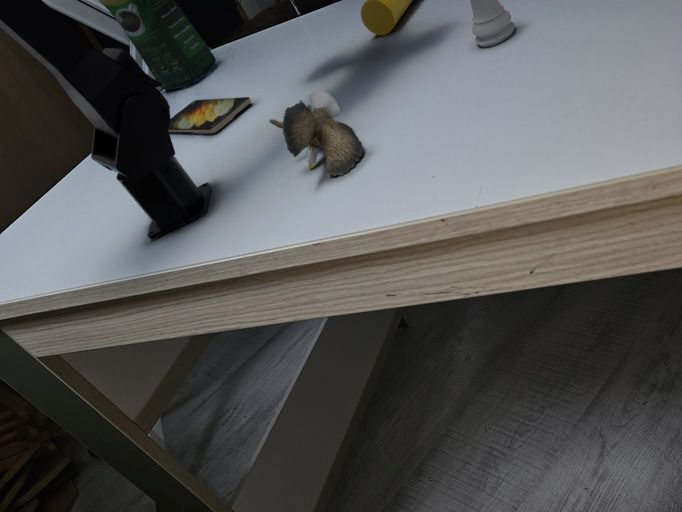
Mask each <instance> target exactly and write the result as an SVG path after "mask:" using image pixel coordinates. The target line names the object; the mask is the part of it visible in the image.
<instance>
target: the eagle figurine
mask: <svg viewBox="0 0 682 512" xmlns="http://www.w3.org/2000/svg"><path fill="white" fill-rule="evenodd" d="M309 100H310V103H311V104H307V105H306V104H305V103H304V101H302V100H301V99H300V100H299V102H298V103H295V104H294V105H291V106H289V107H286V109H284V113H283V120H282V121H278V120H276V119H269V120H268V122H269V123H270V124H271V125H273V126H275V127H277V128H279V129H282V134H283V137H284V141H285V142H284V143H286V149H287V151H289V153H290V154H291V155H292V156H293V157H294V158H296V157H297V156H299V154H301V152H302V151H304V150H305V149H306V161H307V163H308V169H309V170H312V169H313V166H314V164H316V163H317V158H318V153H319V150H320V148H321V147H322V150H323V152H324V156H325V166H326V168H325V169H326V175H327V176H333V177H337V176H344V175H345V174H348V173H349V172H350V171H351V169H352V168H354V167H355V165H356V162H359V161H360V157H362V155H363V146H362V141H360V139H359V136H357V135H356V133H355V131H354V130H353V127H351V126H350V125H348V124H346V123H344V122H340V121H338V120H335V119H333V118H335V117H337V116H339V115H340V114H341V109H340V106H339V104H338V103H337V100H336V99H335V97H334V96H332V95H331V93H330V92H326V91H323V90H322V91H321V90H320V91H314V92H311V93H310V94H309ZM312 109H313V110H312Z"/></svg>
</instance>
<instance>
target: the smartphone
mask: <svg viewBox="0 0 682 512" xmlns="http://www.w3.org/2000/svg"><path fill="white" fill-rule="evenodd" d="M251 103H252V100H251V98H250V97H249V96H243V97H226V98H209V99H207V98H205V99H195V100H193V101H191V102H190V103H189V104H187V105H186V106H185V107H184V108H182V109H181V110H180V111H178V112H177V113H176V114H174V115H173V116H172V117H170V119H171V120H170V124H169V129H168V131H169V133H193V134H214V133H216V132H218V131H219V130H221V129H222V128H223V127H224V126H226V125H227V124H228V123H229V122H231V121H232V120H233V119H234V118H235V116H237V114H239V113H240V112H242V111H243V109H245V108H246V107H248V105H249V104H251Z"/></svg>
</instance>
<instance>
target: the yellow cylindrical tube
mask: <svg viewBox="0 0 682 512" xmlns="http://www.w3.org/2000/svg"><path fill="white" fill-rule="evenodd" d="M413 2H415V0H365V1H364V2H363V4H362V6H361V8H360V18H361V21H362V24H363V25H364V26H365V28H366V29H367V30H368V31H369V32H370V33H372V34H374V35H377V36H386V35H389V34H390V33H391V32H392V31H393V29H394V28H395V26H396V25H397V24H398V22H399V21H400V19H401V18H402V16H403V15H404V14H405V12H406V11H407V9H408V8H409V6H410V5H411V3H413Z"/></svg>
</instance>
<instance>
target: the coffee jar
mask: <svg viewBox="0 0 682 512" xmlns="http://www.w3.org/2000/svg"><path fill="white" fill-rule="evenodd" d="M98 1H99V2H100V3H101V5H103V7H104V8H106V10H107V11H108V12H110V14H111V15H112V17H114V19H115V20H116V22H117V23H118V24H119V26H120V27H121V29H122V30H123V32H124V33H125V34H126V36H127V38H128V39H129V41H130V42H131V44H132V45H133V47H134V48H135V50H136V51H137V53H138V54H139V56H140V57H141V59H142V60H143V62H144V64H145V65H146V67H147V69H148V70H149V72H150V73H151V74H152V76H153V79H155V80H157V81H159V82H161V83H162V86H160V88H161V89H162V90H164V91H171V90H176V89H181V88H184V87H186V86H188V85H191V84H193V83H194V82H195V81H196V80H198V79H200V78H201V77H206V76H207V75H208V74H209V73H210V72H211V71H213V68H214V66H215V64H216V62H217V59H216V57H215V55H214V54H213V52H212V51H211V50H210V48H209V46H208V45H207V43H206V42H205V41H204V40H203V38H202V37H201V35H200V34H199V33H198V31H197V30H196V29H195V27H194V26H193V24H192V23H191V22H190V20H189V19H188V17H187V16H186V14H185V13H184V11H183V10H182V9H181V7H180V6H179V5H178V2H177V1H176V0H98Z"/></svg>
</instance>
